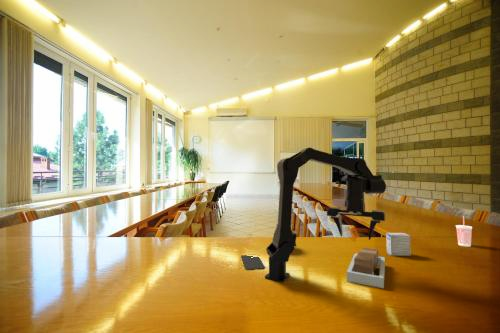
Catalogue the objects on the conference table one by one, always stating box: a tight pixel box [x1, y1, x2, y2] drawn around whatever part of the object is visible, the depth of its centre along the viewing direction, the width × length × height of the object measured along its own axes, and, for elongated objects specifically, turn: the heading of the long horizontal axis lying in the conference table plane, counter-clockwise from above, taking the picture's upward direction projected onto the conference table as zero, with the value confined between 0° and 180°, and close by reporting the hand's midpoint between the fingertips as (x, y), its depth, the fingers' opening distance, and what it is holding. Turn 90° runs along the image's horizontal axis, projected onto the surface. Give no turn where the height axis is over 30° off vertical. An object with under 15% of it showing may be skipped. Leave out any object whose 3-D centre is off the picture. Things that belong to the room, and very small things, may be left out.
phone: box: [240, 254, 266, 271], centre depth 97 cm, size 7×1×15 cm
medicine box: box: [385, 232, 412, 257], centre depth 106 cm, size 8×4×9 cm, turn 84°
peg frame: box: [346, 253, 386, 289], centre depth 87 cm, size 21×10×3 cm, turn 151°
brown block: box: [354, 246, 379, 275], centre depth 87 cm, size 15×5×4 cm, turn 145°
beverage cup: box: [455, 215, 473, 248], centre depth 120 cm, size 6×6×14 cm
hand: (355, 237), depth 89 cm, fingers open, 9 cm apart
